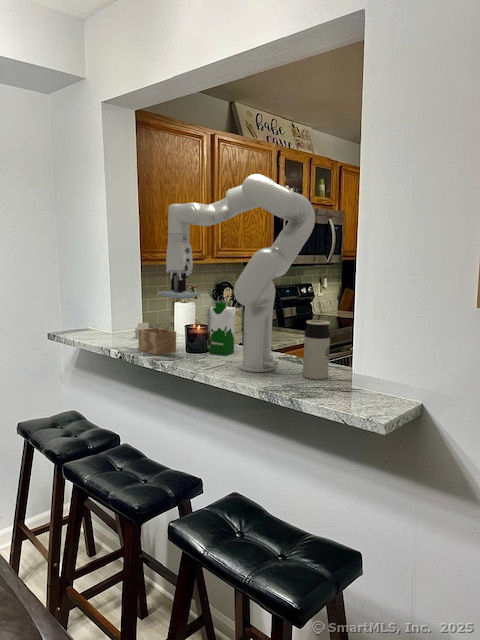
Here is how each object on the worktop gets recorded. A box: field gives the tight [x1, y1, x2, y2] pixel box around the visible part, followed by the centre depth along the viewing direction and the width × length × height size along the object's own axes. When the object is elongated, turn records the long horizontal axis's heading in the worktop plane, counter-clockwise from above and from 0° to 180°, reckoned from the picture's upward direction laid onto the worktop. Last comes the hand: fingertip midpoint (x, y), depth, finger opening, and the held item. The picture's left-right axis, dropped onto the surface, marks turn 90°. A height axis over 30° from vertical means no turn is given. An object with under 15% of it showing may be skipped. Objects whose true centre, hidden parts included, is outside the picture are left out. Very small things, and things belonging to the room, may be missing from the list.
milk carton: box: [209, 301, 237, 357], centre depth 183 cm, size 9×9×20 cm
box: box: [138, 327, 177, 356], centre depth 184 cm, size 12×9×8 cm
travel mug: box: [302, 319, 331, 381], centre depth 151 cm, size 8×8×18 cm
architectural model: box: [133, 321, 150, 340], centre depth 211 cm, size 3×7×7 cm, turn 133°
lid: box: [156, 275, 201, 300], centre depth 171 cm, size 13×10×8 cm
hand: (178, 290), depth 171 cm, fingers closed on lid, 3 cm apart
